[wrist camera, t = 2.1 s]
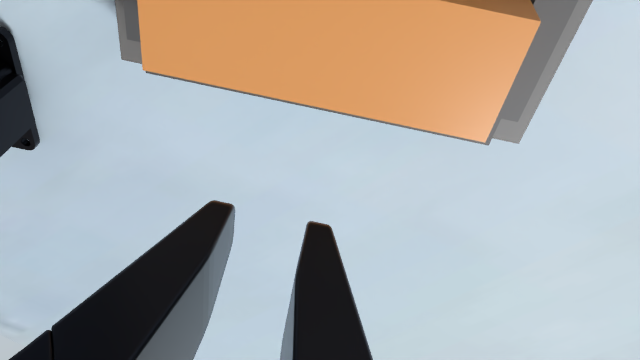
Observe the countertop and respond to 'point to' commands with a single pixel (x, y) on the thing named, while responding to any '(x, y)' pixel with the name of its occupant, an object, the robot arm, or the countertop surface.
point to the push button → (351, 54)
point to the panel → (523, 97)
